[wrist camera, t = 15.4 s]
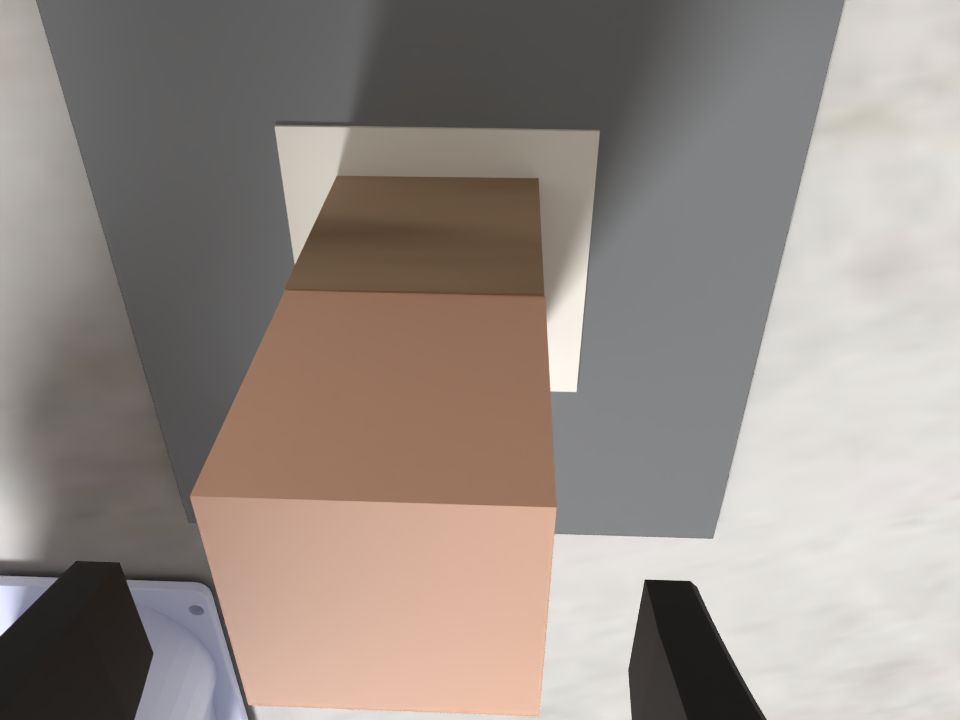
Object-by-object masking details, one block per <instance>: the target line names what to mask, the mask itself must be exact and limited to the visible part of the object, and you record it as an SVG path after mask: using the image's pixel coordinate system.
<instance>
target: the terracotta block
mask: <svg viewBox="0 0 960 720" xmlns="http://www.w3.org/2000/svg"><path fill="white" fill-rule="evenodd" d="M190 499H191V502H192V506H193V509H194V513H195V517H196V520H197V524H198V527H199V531H200V534H201V538H202V542H203V545H204V549H205V552H206V556H207V559H208V563H209V566H210V570H211V574H212V577H213V581H214V584H215V588H216V591H217V595H218V598H219V602H220V606H221V609H222V613H223V616H224V620H225V623H226V627H227V630H228V634H229V638H230V641H231V645H232V648H233V652H234V655H235V659H236V663H237V666H238V670H239V673H240V677H241V680H242V684H243V687H244V691H245V695H246V698H247V702H248V705H255V706H281V707H307V708H333V709H359V710H385V711H411V712H436V713H462V714H488V715H514V716H539V715H540V702H541V690H542V678H543V666H544V654H545V642H546V629H547V617H548V605H549V593H550V581H551V569H552V556H553V544H554V532H555V520H556V508H557V507H556V488H555V469H554V450H553V431H552V412H551V393H550V374H549V355H548V336H547V317H546V298H545V296H509V295H466V294H424V293H381V292H338V291H296V290H285V292H284V294H283V296H282V298H281V300H280V303H279V305H278V307H277V309H276V311H275V313H274V316H273V318H272V320H271V322H270V324H269V326H268V328H267V331H266V333H265V335H264V337H263V339H262V341H261V344H260V346H259V348H258V350H257V352H256V354H255V357H254V359H253V361H252V363H251V365H250V367H249V369H248V372H247V374H246V376H245V378H244V380H243V382H242V385H241V387H240V389H239V391H238V393H237V395H236V397H235V400H234V402H233V404H232V406H231V408H230V410H229V413H228V415H227V417H226V419H225V421H224V423H223V426H222V428H221V430H220V432H219V434H218V436H217V438H216V441H215V443H214V445H213V447H212V449H211V451H210V454H209V456H208V458H207V460H206V462H205V464H204V466H203V469H202V471H201V473H200V475H199V477H198V479H197V482H196V484H195V486H194V488H193V490H192V492H191V495H190Z"/></svg>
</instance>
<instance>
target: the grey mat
mask: <svg viewBox="0 0 960 720" xmlns="http://www.w3.org/2000/svg"><path fill="white" fill-rule="evenodd" d="M36 2H37V5H38V8H39V12H40V15H41V19H42V22H43V26H44V29H45V32H46V36H47V39H48V43H49V46H50V50H51V53H52V56H53V60H54V63H55V67H56V70H57V74H58V77H59V80H60V84H61V87H62V91H63V94H64V98H65V101H66V104H67V108H68V111H69V115H70V118H71V122H72V125H73V128H74V132H75V135H76V139H77V142H78V145H79V149H80V152H81V156H82V159H83V163H84V166H85V169H86V173H87V176H88V180H89V183H90V187H91V190H92V193H93V197H94V200H95V204H96V207H97V211H98V214H99V217H100V221H101V224H102V228H103V231H104V235H105V238H106V241H107V245H108V248H109V252H110V255H111V258H112V262H113V265H114V269H115V272H116V276H117V279H118V282H119V286H120V289H121V293H122V296H123V300H124V303H125V306H126V310H127V313H128V317H129V320H130V324H131V327H132V330H133V334H134V337H135V341H136V344H137V348H138V351H139V354H140V358H141V361H142V365H143V368H144V372H145V375H146V378H147V382H148V385H149V389H150V392H151V395H152V399H153V402H154V406H155V409H156V413H157V416H158V419H159V423H160V426H161V430H162V433H163V437H164V440H165V443H166V447H167V450H168V454H169V457H170V461H171V464H172V467H173V471H174V474H175V478H176V481H177V485H178V488H179V491H180V495H181V498H182V502H183V505H184V508H185V512H186V515H187V519H188V522H189V523H197V520H196V517H195V513H194V509H193V506H192V502H191V499H190V495H191V492H192V490H193V488H194V486H195V484H196V482H197V479H198V477H199V475H200V473H201V471H202V469H203V466H204V464H205V462H206V460H207V458H208V456H209V454H210V451H211V449H212V447H213V445H214V443H215V441H216V438H217V436H218V434H219V432H220V430H221V428H222V426H223V423H224V421H225V419H226V417H227V415H228V413H229V410H230V408H231V406H232V404H233V402H234V400H235V397H236V395H237V393H238V391H239V389H240V387H241V385H242V382H243V380H244V378H245V376H246V374H247V372H248V369H249V367H250V365H251V363H252V361H253V359H254V357H255V354H256V352H257V350H258V348H259V346H260V344H261V341H262V339H263V337H264V335H265V333H266V331H267V328H268V326H269V324H270V322H271V320H272V318H273V316H274V313H275V311H276V309H277V307H278V305H279V303H280V300H281V298H282V296H283V294H284V287H285V285H286V283H287V281H288V279H289V277H290V274H291V272H292V270H293V268H294V266H295V264H296V262H297V259H298V257H299V255H300V253H301V251H302V249H303V247H304V245H305V242H306V240H307V238H308V236H309V234H310V232H311V230H312V227H313V225H314V223H315V221H316V219H317V217H318V215H319V212H320V210H321V208H322V206H323V204H324V202H325V200H326V198H327V195H328V193H329V191H330V189H331V187H332V185H333V183H334V180H335V178H336V176H399V177H481V178H539V197H540V217H541V237H542V256H543V276H544V296H545V298H546V317H547V336H548V355H549V374H550V393H551V412H552V431H553V450H554V469H555V488H556V507H557V508H556V520H555V532H554V534H577V535H610V536H642V537H675V538H707V539H713V537H714V533H715V529H716V525H717V520H718V516H719V512H720V508H721V504H722V500H723V496H724V492H725V488H726V483H727V479H728V475H729V471H730V467H731V463H732V459H733V455H734V451H735V447H736V442H737V438H738V434H739V430H740V426H741V422H742V418H743V414H744V410H745V406H746V401H747V397H748V393H749V389H750V385H751V381H752V377H753V373H754V369H755V364H756V360H757V356H758V352H759V348H760V344H761V340H762V336H763V332H764V328H765V323H766V319H767V315H768V311H769V307H770V303H771V299H772V295H773V291H774V287H775V282H776V278H777V274H778V270H779V266H780V262H781V258H782V254H783V250H784V246H785V241H786V237H787V233H788V229H789V225H790V221H791V217H792V213H793V209H794V204H795V200H796V196H797V192H798V188H799V184H800V180H801V176H802V172H803V168H804V163H805V159H806V155H807V151H808V147H809V143H810V139H811V135H812V131H813V127H814V122H815V118H816V114H817V110H818V106H819V102H820V98H821V94H822V90H823V86H824V81H825V77H826V73H827V69H828V65H829V61H830V57H831V53H832V49H833V44H834V40H835V36H836V32H837V28H838V24H839V20H840V16H841V12H842V8H843V3H844V0H36Z"/></svg>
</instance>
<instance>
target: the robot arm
mask: <svg viewBox="0 0 960 720" xmlns="http://www.w3.org/2000/svg"><path fill="white" fill-rule="evenodd" d="M628 672H629V686H630V700H631V713H632V720H766V718H765V716H764V715H763V713H762V711H761V710H760V708H759V706H758V705H757V703H756V701H755V699H754V698H753V696H752V694H751V692H750V691H749V689H748V687H747V685H746V683H745V682H744V680H743V678H742V676H741V674H740V673H739V671H738V669H737V667H736V665H735V663H734V661H733V660H732V658H731V656H730V654H729V652H728V650H727V648H726V646H725V644H724V643H723V641H722V639H721V637H720V635H719V633H718V631H717V629H716V627H715V625H714V623H713V621H712V619H711V617H710V614H709V612H708V610H707V608H706V606H705V604H704V602H703V600H702V597H701V595H700V593H699V591H698V588H697V587H696V586H695V585H694V584H693V583H692V582H691V581H670V580H645V582H644V587H643V593H642V598H641V604H640V609H639V615H638V620H637V626H636V631H635V637H634V642H633V648H632V653H631V659H630V664H629V670H628ZM0 720H248V717H247V714H246V710H245V707H244V703H243V700H242V696H241V693H240V689H239V686H238V682H237V679H236V675H235V672H234V669H233V665H232V662H231V658H230V655H229V651H228V648H227V644H226V641H225V637H224V634H223V631H222V627H221V624H220V620H219V617H218V613H217V610H216V606H215V603H214V599H213V596H212V593H211V591H210V589H209V588H208V587H207V586H205V585H203V584H201V583H197V582H176V581H146V580H126V579H125V576H124V573H123V571H122V568H121V565H120V563H116V562H85V561H76V562H75V563H74V564H73V565H72V566H71V567H70V568H68V569H67V570H66V571H65V572H64V573H63V574H62V575H61V576H60V577H59V578H55V577H25V576H0Z"/></svg>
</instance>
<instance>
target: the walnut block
mask: <svg viewBox="0 0 960 720" xmlns="http://www.w3.org/2000/svg"><path fill="white" fill-rule="evenodd" d="M285 290H296V291H338V292H381V293H424V294H466V295H509V296H544V276H543V256H542V237H541V217H540V197H539V178H481V177H399V176H336V178H335V180H334V183H333V185H332V187H331V189H330V191H329V193H328V195H327V198H326V200H325V202H324V204H323V206H322V208H321V210H320V212H319V215H318V217H317V219H316V221H315V223H314V225H313V227H312V230H311V232H310V234H309V236H308V238H307V240H306V242H305V245H304V247H303V249H302V251H301V253H300V255H299V257H298V259H297V262H296V264H295V266H294V268H293V270H292V272H291V274H290V277H289V279H288V281H287V283H286V285H285V287H284V292H285Z"/></svg>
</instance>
